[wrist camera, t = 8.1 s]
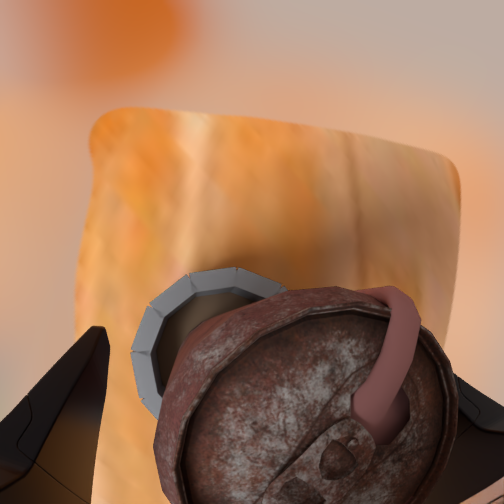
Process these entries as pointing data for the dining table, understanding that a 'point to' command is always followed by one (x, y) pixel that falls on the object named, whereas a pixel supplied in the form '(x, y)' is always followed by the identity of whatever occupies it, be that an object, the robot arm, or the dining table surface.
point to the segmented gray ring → (187, 321)
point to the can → (308, 403)
